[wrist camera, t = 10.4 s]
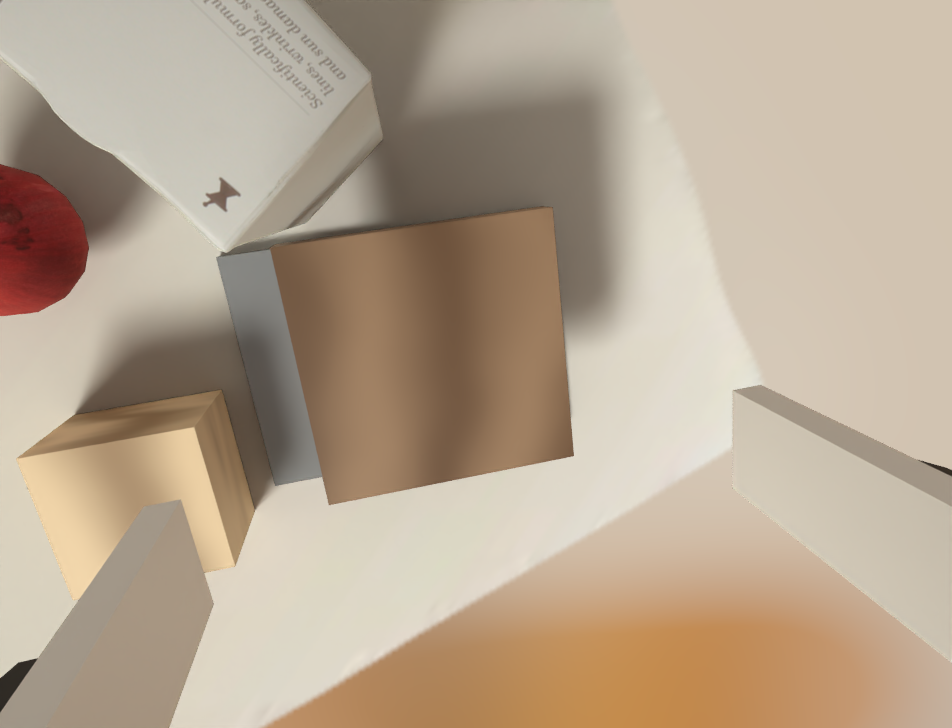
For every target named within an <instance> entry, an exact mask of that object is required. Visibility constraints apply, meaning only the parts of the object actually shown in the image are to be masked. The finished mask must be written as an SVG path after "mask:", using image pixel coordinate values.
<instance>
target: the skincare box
mask: <svg viewBox="0 0 952 728" xmlns="http://www.w3.org/2000/svg"><path fill="white" fill-rule="evenodd" d="M0 59H1V60H2V61H3V62H4V63H6V64H7V65H8V66H9V67H10V68H12V69H13V70H14V71H15V72H16V73H17V74H19V75H20V76H21V77H22V78H23V79H24V80H26V81H27V82H28V83H29V84H30V85H31V86H33V87H34V88H35V89H36V90H37V91H39V92H40V93H41V94H42V95H43V97H44V98H45V100H46V101H47V102H48V104H49V105H50V106H51V108H52V109H53V111H54V112H55V113H56V114H57V115H58V116H59V117H60V119H61V120H62V121H63V122H64V123H66V124H67V125H68V126H69V127H70V128H71V129H72V130H73V131H74V132H76V133H77V134H78V135H79V136H81V137H82V138H84V139H85V140H86V141H88V142H89V143H91V144H92V145H94V146H96V147H98V148H101V149H103V150H105V151H108V152H110V153H111V154H113V155H114V156H115V157H116V158H117V159H118V160H120V161H121V162H122V163H123V164H124V165H126V166H127V167H128V168H129V169H130V170H132V171H133V172H134V173H135V174H136V175H137V176H139V177H140V178H141V179H142V180H143V181H144V182H145V183H147V184H148V185H149V186H150V187H151V188H153V189H154V190H155V191H156V192H157V193H159V194H160V195H161V196H162V197H163V198H164V199H165V200H166V201H167V202H169V203H170V204H171V205H172V206H173V207H174V208H175V209H176V210H177V211H178V212H179V213H180V214H181V215H182V216H183V217H184V218H185V219H186V220H187V221H188V222H189V223H190V224H191V225H192V226H193V227H194V228H195V229H196V230H197V231H198V232H199V233H200V234H201V235H202V236H203V237H204V238H205V239H206V240H207V241H208V242H209V243H210V244H212V245H213V246H214V247H215V248H217V249H218V250H220V251H223V252H226V253H227V252H229V251H231V250H232V249H233V248H235V247H238V246H240V245H243V244H246V243H249V242H252V241H255V240H257V239H260V238H264V237H267V236H269V235H271V234H274V233H277V232H280V231H283V230H286V229H289V228H292V227H295V226H298V225H301V224H304V223H306V222H307V221H308V220H309V219H310V218H311V217H312V216H313V215H314V214H315V213H316V212H317V210H318V209H319V208H320V207H321V206H322V205H323V204H324V203H325V202H326V201H327V200H328V199H329V197H330V196H331V195H332V194H333V193H334V192H335V191H336V190H337V189H338V188H339V187H340V186H341V184H342V183H343V182H344V181H345V180H346V179H347V178H348V177H349V176H350V175H351V174H352V173H353V171H354V170H355V169H356V168H357V167H358V166H359V165H360V164H361V163H362V162H363V160H364V159H365V158H366V157H367V156H368V155H369V154H370V153H371V152H372V151H373V149H374V148H375V147H376V146H377V145H378V144H379V143H380V142H381V140H382V139H383V132H382V129H381V123H380V118H379V114H378V110H377V105H376V101H375V97H374V92H373V87H372V82H371V79H372V74H371V72H370V71H369V70H368V69H367V68H366V67H365V66H364V65H363V64H362V62H361V61H360V60H359V59H358V58H357V57H356V56H355V55H354V54H353V52H352V51H351V50H350V49H349V48H348V47H347V46H346V45H345V44H344V42H343V41H342V40H341V39H340V38H339V37H338V36H337V35H336V34H335V32H334V31H333V30H332V29H331V28H330V27H329V26H328V25H327V24H326V23H325V22H324V20H323V19H322V18H321V17H320V16H319V15H318V14H317V13H316V12H315V11H314V10H313V8H312V7H311V6H310V5H309V4H308V3H307V2H306V1H305V0H0Z"/></svg>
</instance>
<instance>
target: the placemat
mask: <svg viewBox="0 0 952 728" xmlns="http://www.w3.org/2000/svg"><path fill="white" fill-rule="evenodd" d="M216 258H217V262H218V266H219V270H220V274H221V278H222V282H223V285H224V289H225V293H226V297H227V301H228V305H229V309H230V313H231V316H232V320H233V324H234V328H235V332H236V336H237V340H238V343H239V347H240V351H241V355H242V359H243V363H244V367H245V371H246V374H247V378H248V382H249V386H250V390H251V394H252V398H253V401H254V405H255V409H256V413H257V417H258V421H259V425H260V429H261V432H262V436H263V440H264V444H265V448H266V452H267V456H268V460H269V463H270V467H271V471H272V475H273V479H274V483H275V486H277V485H282V484H288V483H293V482H298V481H303V480H308V479H313V478H319V477H322V472H321V468H320V464H319V459H318V455H317V451H316V446H315V442H314V438H313V433H312V429H311V425H310V420H309V416H308V412H307V407H306V403H305V399H304V394H303V390H302V386H301V381H300V377H299V373H298V368H297V364H296V360H295V355H294V351H293V346H292V342H291V338H290V333H289V329H288V325H287V320H286V316H285V312H284V307H283V303H282V299H281V294H280V290H279V286H278V281H277V277H276V273H275V268H274V264H273V260H272V255H271V251H270V249H266V250H259V251H252V252H245V253H239V254H232V255H225V256H219V257H216Z"/></svg>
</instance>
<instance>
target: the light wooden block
mask: <svg viewBox="0 0 952 728" xmlns="http://www.w3.org/2000/svg"><path fill="white" fill-rule="evenodd" d="M16 460H17V462H18V465H19V467H20V470H21V472H22V475H23V477H24V480H25V482H26V485H27V487H28V490H29V492H30V495H31V497H32V500H33V502H34V505H35V507H36V510H37V512H38V515H39V517H40V520H41V522H42V525H43V527H44V530H45V532H46V535H47V537H48V540H49V542H50V545H51V547H52V550H53V552H54V555H55V557H56V559H57V562H58V564H59V567H60V569H61V572H62V574H63V577H64V579H65V582H66V584H67V587H68V589H69V592H70V594H71V597H72V599H73V600H77V599H80V598H81V596H82V595H83V593H84V592H85V590H86V589H87V587H88V586H89V585H90V583H91V582H92V580H93V579H94V577H95V576H96V575H97V573H98V572H99V570H100V569H101V567H102V566H103V565H104V563H105V562H106V560H107V559H108V557H109V556H110V555H111V553H112V552H113V550H114V549H115V547H116V546H117V544H118V543H119V542H120V540H121V539H122V537H123V536H124V534H125V533H126V532H127V530H128V529H129V527H130V526H131V524H132V523H133V522H134V520H135V519H136V517H137V516H138V514H139V513H140V512H141V510H142V509H143V507H144V506H149V505H155V504H160V503H165V502H170V501H175V500H180V499H181V501H182V504H183V507H184V511H185V514H186V517H187V520H188V523H189V526H190V530H191V533H192V536H193V539H194V542H195V546H196V549H197V552H198V555H199V558H200V561H201V565H202V568H203V571H204V573H206V572H211V571H216V570H221V569H225V568H230V567H235V566H236V563H237V560H238V557H239V554H240V552H241V549H242V546H243V543H244V540H245V537H246V535H247V532H248V529H249V526H250V523H251V520H252V518H253V515H254V512H255V509H254V505H253V502H252V498H251V495H250V491H249V487H248V484H247V480H246V476H245V473H244V469H243V465H242V462H241V458H240V454H239V451H238V447H237V443H236V440H235V436H234V433H233V429H232V425H231V422H230V418H229V414H228V411H227V407H226V403H225V400H224V396H223V392H222V390H217V391H211V392H205V393H200V394H194V395H188V396H182V397H176V398H170V399H165V400H159V401H153V402H147V403H141V404H136V405H130V406H124V407H118V408H112V409H106V410H101V411H95V412H89V413H83V414H77V415H73V416H72V417H71V418H69V419H68V420H67V421H65V422H64V423H63V424H61V425H60V426H59V427H58V428H56V429H55V430H54V431H52V432H51V433H50V434H48V435H47V436H46V437H44V438H43V439H42V440H40V441H39V442H38V443H36V444H35V445H34V446H33V447H31V448H30V449H29V450H27V451H26V452H25V453H23V454H22V455H21V456H19V457H18V458H17V459H16Z"/></svg>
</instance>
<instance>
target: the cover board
mask: <svg viewBox="0 0 952 728" xmlns="http://www.w3.org/2000/svg"><path fill="white" fill-rule="evenodd" d="M270 251H271V255H272V260H273V264H274V268H275V273H276V277H277V281H278V286H279V290H280V294H281V299H282V303H283V307H284V312H285V316H286V320H287V325H288V329H289V333H290V338H291V342H292V346H293V351H294V355H295V360H296V364H297V368H298V373H299V377H300V381H301V386H302V390H303V394H304V399H305V403H306V407H307V412H308V416H309V420H310V425H311V429H312V433H313V438H314V442H315V446H316V451H317V455H318V459H319V464H320V468H321V472H322V477H323V481H324V485H325V490H326V494H327V499H328V503H329V505H332V504H337V503H342V502H347V501H352V500H357V499H362V498H367V497H372V496H377V495H382V494H387V493H392V492H397V491H402V490H407V489H412V488H417V487H422V486H427V485H432V484H437V483H442V482H447V481H452V480H457V479H462V478H467V477H472V476H477V475H482V474H487V473H492V472H497V471H502V470H507V469H512V468H516V467H521V466H526V465H531V464H536V463H541V462H546V461H551V460H556V459H561V458H566V457H571V456H574V452H573V440H572V429H571V417H570V405H569V394H568V382H567V370H566V359H565V347H564V335H563V323H562V312H561V300H560V288H559V277H558V265H557V253H556V241H555V230H554V218H553V207H544V206H541V207H534V208H527V209H520V210H513V211H506V212H499V213H491V214H484V215H477V216H470V217H463V218H456V219H449V220H442V221H435V222H428V223H421V224H414V225H407V226H400V227H393V228H386V229H379V230H372V231H365V232H358V233H351V234H344V235H337V236H330V237H323V238H316V239H309V240H302V241H295V242H288V243H281V244H275V245H273V246H272V247H270Z"/></svg>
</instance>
